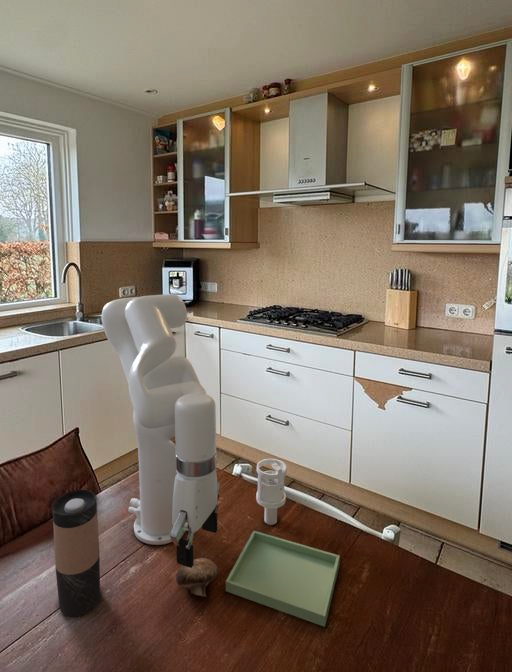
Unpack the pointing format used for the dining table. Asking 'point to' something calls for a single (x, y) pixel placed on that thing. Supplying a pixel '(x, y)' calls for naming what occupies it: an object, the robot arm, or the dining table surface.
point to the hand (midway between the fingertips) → (198, 546)
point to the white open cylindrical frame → (271, 489)
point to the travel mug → (76, 552)
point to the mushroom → (197, 575)
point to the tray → (285, 577)
